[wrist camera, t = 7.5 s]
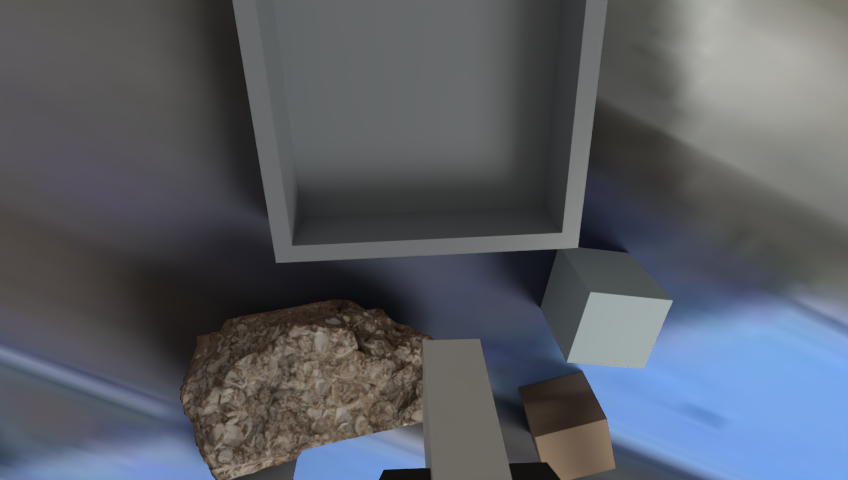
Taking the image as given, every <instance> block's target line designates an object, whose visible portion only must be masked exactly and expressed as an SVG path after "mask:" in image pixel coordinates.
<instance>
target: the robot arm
mask: <svg viewBox="0 0 848 480" xmlns="http://www.w3.org/2000/svg"><path fill="white" fill-rule="evenodd" d="M423 431H424V448H425V464H426V468H418V469H392V470H384V471H383V473H382V475H381V477H380V479H379V480H561V479H560V478H559V477H558V475H557V474H556V473H555V472H554V470H553V469H552V468H551V467H550V465H549V464H548V463H547V462H537V463H512V464H508V459H507V455H506V451H505V446H504V442H503V438H502V433H501V429H500V425H499V420H498V416H497V412H496V407H495V403H494V399H493V394H492V390H491V386H490V382H489V377H488V373H487V369H486V364H485V360H484V356H483V351H482V347H481V343H480V339H456V340H423Z"/></svg>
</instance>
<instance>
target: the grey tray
mask: <svg viewBox="0 0 848 480" xmlns="http://www.w3.org/2000/svg"><path fill="white" fill-rule="evenodd" d="M232 1H233V7H234V13H235V19H236V25H237V31H238V37H239V43H240V49H241V55H242V61H243V67H244V73H245V79H246V85H247V91H248V97H249V103H250V109H251V115H252V121H253V127H254V133H255V139H256V145H257V151H258V157H259V163H260V169H261V175H262V181H263V187H264V193H265V199H266V205H267V211H268V217H269V223H270V229H271V235H272V241H273V247H274V253H275V259H276V263H285V262H305V261H325V260H346V259H366V258H386V257H406V256H426V255H446V254H466V253H486V252H506V251H526V250H546V249H566V248H578V243H579V235H580V226H581V218H582V210H583V201H584V193H585V185H586V177H587V168H588V160H589V152H590V143H591V135H592V127H593V118H594V110H595V102H596V93H597V85H598V77H599V69H600V60H601V52H602V44H603V35H604V27H605V19H606V10H607V2H608V0H232Z"/></svg>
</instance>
